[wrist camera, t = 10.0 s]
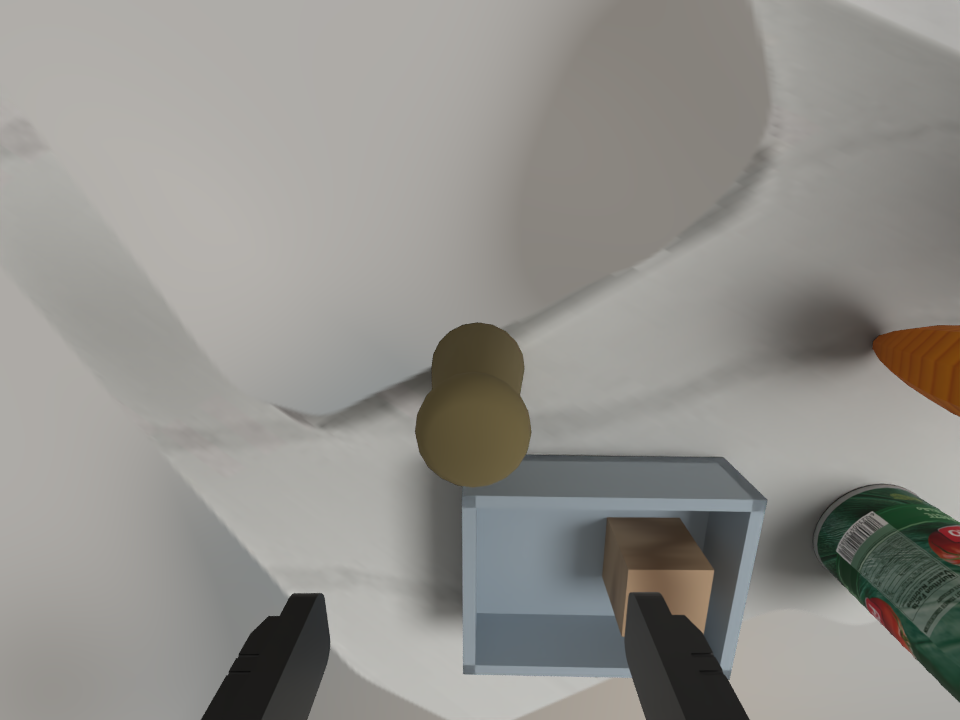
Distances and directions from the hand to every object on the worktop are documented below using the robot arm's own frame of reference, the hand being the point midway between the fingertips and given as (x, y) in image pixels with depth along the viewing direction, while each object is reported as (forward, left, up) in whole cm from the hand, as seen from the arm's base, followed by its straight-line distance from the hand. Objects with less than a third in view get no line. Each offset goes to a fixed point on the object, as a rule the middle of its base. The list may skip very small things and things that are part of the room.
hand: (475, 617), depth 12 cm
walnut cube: (-11, +12, -18) cm, 24 cm away
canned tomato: (-28, +11, -19) cm, 35 cm away
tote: (-8, +12, -19) cm, 23 cm away
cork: (0, -1, -19) cm, 19 cm away
